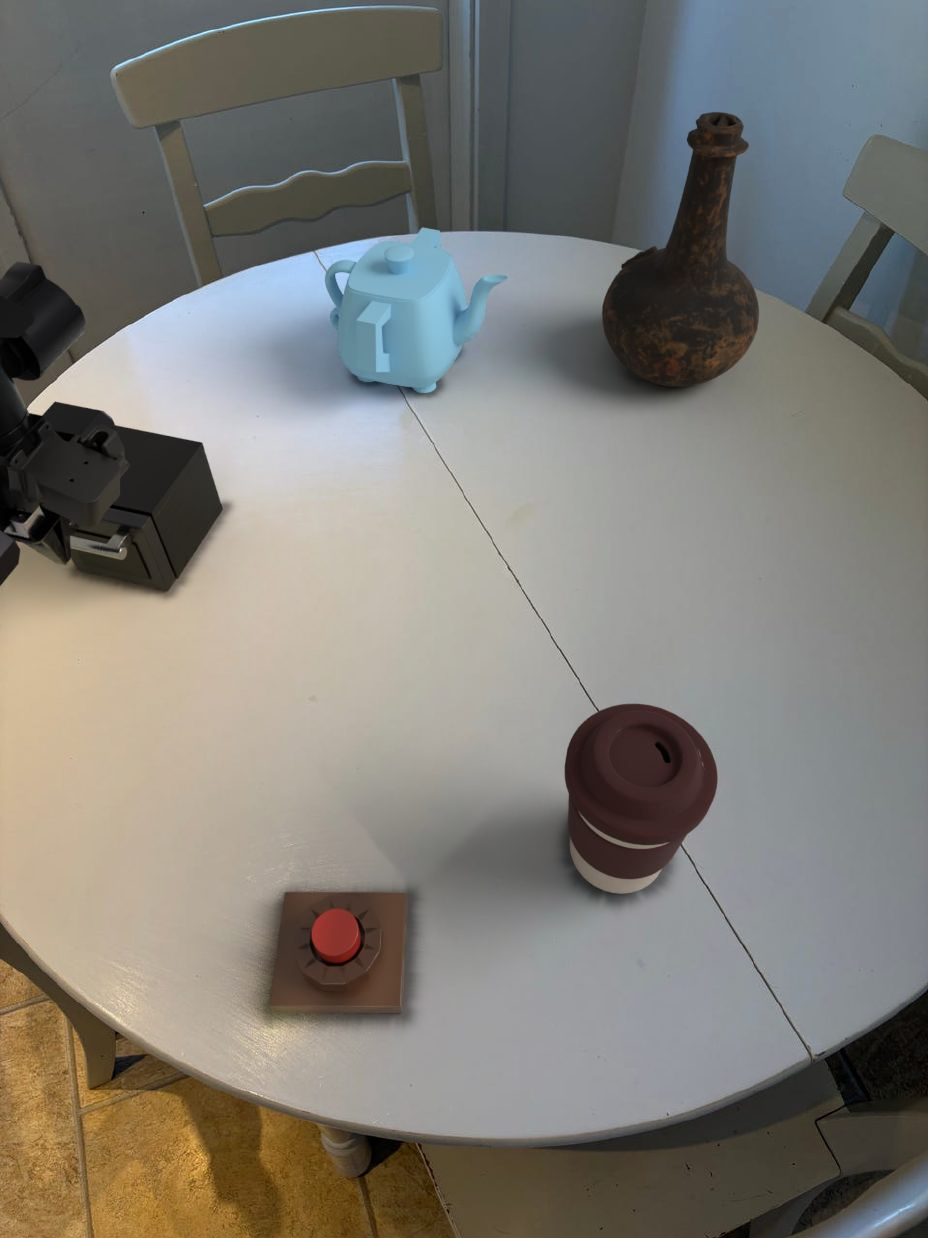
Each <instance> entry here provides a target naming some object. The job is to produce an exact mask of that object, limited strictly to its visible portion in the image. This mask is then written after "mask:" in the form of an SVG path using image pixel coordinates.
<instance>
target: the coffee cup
mask: <svg viewBox="0 0 928 1238" xmlns="http://www.w3.org/2000/svg"><path fill="white" fill-rule="evenodd" d="M566 749H567V750H566V755H565V760H564V782H565V788H566V791H567V792H568V801H567V802H568V804H567V805H568V807H567V827H568V834H569V851H570V852H569V853H570V855H571V859H572V861H573V864H574V866H575V868H576V869H577V871H578V872H579V874H580V875H581V876H582V877H583V878H584V879H585V880H586V881H587V882H588V883H590V884H591V885H592V886H594V887H595V888H598V889H600V890H601V891H604V892H608V893H612V894H621V895H622V894H631V893H635V892H639V891H641V890H643V889H645V888H647V887H648V886H649V885H651V884H652V883H653V882H654V881H655V880H656V879H657V877H658V876H659V875H660V873H661V871H662V870H663V869H664V868H665V867H666V866H667V865H668V864H669V863H670V862H671V861H672V859H673V858H674V856H675V855H676V853H677V851H678V850H679V848H680V847H681V845H682V844H683V842H684V841H685V839H686V837H687V836H688V834H690V833H691V832H692V831H693V830H695V829H696V828H697V827H698V826H700V824H701V823H702V822H703V820H704V819H705V817H706V816H707V814H708V813H709V810H710V808H711V806H712V804H713V802H714V799H715V796H716V793H717V789H718V781H719V780H718V777H719V776H718V769H717V762H716V760H715V757H714V754H713V752H712V750H711V748H710V747H709V744H708V743H707V741H706V739H705V738H704V737H703V736H702V734H700V732H699V731H698V730H697V729H696V728H695V727H694V726H693V725H691V724H690V723H689V722H688V721H687V720H685V719H684V718H683V717H681V716H679V715H677V714H676V713H674V712H672V711H669V710H667V709H664V708H662V707H659V706H655V705H650V704H644V703H622V704H617V705H611V706H609V707H605V708H602V709H600V710H599V711H597V712H595V713H593V714H591V715H590V716H589V717H587V719H585V720H584V721H583V722H581V724H580V725H579V726H578V727H577V728H576V730H575V731H574V733H573V734H572V736H571V738H570V740H569V743H568V745H567V748H566Z"/></svg>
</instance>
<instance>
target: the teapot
mask: <svg viewBox="0 0 928 1238" xmlns="http://www.w3.org/2000/svg"><path fill="white" fill-rule="evenodd" d="M441 240H442V239H441V231H440V230H438V229H433V228H427V227H421V228H420V229H419V231H418V233H417V234H416V236H415V237H414V238H413V240H412V241H411V242H404V241H395V240H384V241H379V242H377V243H375V244H374V245H373V246H371V247H370V248H369V249H368V250H367V251H366V252H364V254H363V255H362V256H361V257H360V258H359V259H358V260H357V262H356V261H354V260H350V259H341V260H338V261H336V262H334V263H333V264H331V265H330V266H329V267H328V268H327V270H326V272H325V276H324V285H325V289H326V291H327V293H328V295H329V297H330V299H331V301H332V302H333V304H334V306H335V307H334V308H333V309H332V310H331V311H330V314H329V322H330V324H331V325H332V327H333V328H334V329H336V330H337V348H338V349H337V350H338V355H339V358H340V360H341V362H342V363H343V365H344V366H345V368H346V369H347V370H348V371H349V372H350V373H351V374H352V375H354V376H356V378H357V379H358V380H359V381H361V382H364V383H372V382H377V383H383V384H389V385H394V386H399V387H407V388H412V390H413V391H414V392H416V393H418V394H419V393H420V394H429V393H432V392H433V391H434V390H436V389H437V383H436V382H438V381H439V380H440V379H441V378H442V377H443V376H444V375H445V374H446V373H447V372H448V370H449V369H450V368H452V365H454V363H455V361H456V359H457V358H458V356H459V355H460V353H461V351H462V348H463V346H464V344H466V343H468V342H470V341H471V340H472V339H474V338H475V337H476V335H477V334H478V333H479V331H480V330H481V328H482V326H483V323H484V320H485V315H486V310H487V309H486V308H487V302H488V297H489V294H490V293H491V291H492V290H493V288H495V287H496V286H498V285H499V284H502V283H503V282H506V281H507V280H508V278H509V277H508V276H507V275H505V274H490V275H485V276H483V277H481V278H479V280H477V282H475V285H474V286H473V289H472V292H471V296H470V300H469V305H468V300H467V295H466V291H465V288H464V283H463V281H462V278H461V274H460V272H459V270H458V267H457V264H456V262H455V260H454V258H453V255H452V254H451V253H450V252H449V251H448V250H446V249H443V248H442V241H441ZM338 273H344V274H345V273H346V274H349V275H348V278H347V280H346V284H345V287H344V290H343V292H342V290H341V289H340V287H339V284H338V281H337V278H336V274H338Z"/></svg>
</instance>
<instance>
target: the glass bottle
mask: <svg viewBox="0 0 928 1238" xmlns="http://www.w3.org/2000/svg"><path fill="white" fill-rule="evenodd" d="M695 125H696V128H694V129H691V130H690V131H689V132H688V134H687V138H686V142H687V146H688V147H689V148H690V149H691V150H692V153H691V158H690V161H689V166H688V170H687V175H686V179H685V183H684V187H683V191H682V194H681V199H680V203H679V206H678V209H677V213H676V217H675V220H674V223H673V226H672V230H671V232H670V235H669V238H668V241H667V242H666V245H665V247H663V248H659V249H658V247H657V246H656V245H653V246H651V247H649V248H647V249H645V250H644V251H642V250H641V251H639V252H637V253H636V254H635V255H634V256H633V257H631V258H629V259H626V261H624V263H621V266H620V268H621V269H620V270H619V272H618V273H617V274H616V275H615V276H614V278H613V279H612V281H611V282H610V285H609V287H608V288H607V291H606V292H605V293H606V294H605V295H604V299H603V303H602V310H601V317H602V318H601V320H602V327H603V331H604V335H605V338H606V341H607V343H608V345H609V347H610V349H611V351H612V352H613V354H614V355H615V357H616V358H617V359H618V361H619V362H620V363H621V364H622V365H623V366H624V367H625V368H626V369H627V370H628V371H630V372H631V373H632V374H633V375H635V376H636V377H638V378H640V379H642V380H644V381H646V382H649V383H652V384H655V385H658V386H659V385H660V386H663V387H674V388H677V387H678V388H679V387H680V388H681V387H690V386H691V387H692V386H696V385H700V384H704V383H706V382H709V381H712V380H715V379H717V378H718V377H720V376H722V375H724V374H725V373H726V372H727V371H729V370H730V369H732V368H733V367H734V366H735V365H736V364H738V362H739V361H740V360H741V359H742V358H743V357H744V356H745V355H746V354H747V352H748V351H749V349H750V347H751V346H752V343H753V342H754V339H755V337H756V334H757V331H758V329H759V328H758V326H759V321H760V320H759V319H760V306H759V300H758V296H757V293H756V290H755V287H754V286H753V284H752V282H751V281H750V279H749V277H747V276H746V274H745V273H744V272H743V271H742V270H741V269H740V268H739V267H738V266H737V265H736V264H734V263H733V262H732V261H730V260H728V255H727V254H728V253H727V233H728V222H729V211H730V201H731V195H732V188H733V182H734V175H735V170H736V164H737V158H738V156H739V155H742V154H745V153H746V152H747V151H748V149H749V147H750V144H749V142H748V141H747V140H745V139H744V138H743V137H742V134H743V131H744V128H745V125H744V123H743V121H742V120H741V119H740V118H739V116H737V115H735V114H732V113H728V112H722V111H710V112H706V113H701V114H700V116H699V117H698V118H697V119H695Z"/></svg>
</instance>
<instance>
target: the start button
mask: <svg viewBox="0 0 928 1238" xmlns="http://www.w3.org/2000/svg"><path fill="white" fill-rule="evenodd" d="M311 936H312V941H313V944H314V946H315V949H316V951H317V953H318V955H319V956H320V957H321V958H322V959H323V960H325V961H327V962H329V963H342V962H345V961H347V960H349V959H350V958H351V957H353V956H354V955H355V953H356V952H357V950H358V948H359V946H360V942H361V934H360V930H359V927H358V923H357V921H356V919H355V917H354V916H353V915H352V914H351V913H349V912H348V911H346V910H343V909H331V910H328V911H326V912H324V913H323V914H321V915H320V916H319V917H318V918H317V919H316V921H315V923H314V925H313V927H312V932H311Z"/></svg>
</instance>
